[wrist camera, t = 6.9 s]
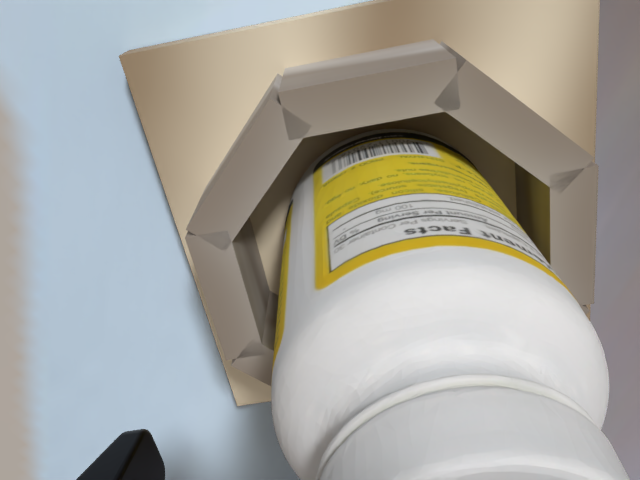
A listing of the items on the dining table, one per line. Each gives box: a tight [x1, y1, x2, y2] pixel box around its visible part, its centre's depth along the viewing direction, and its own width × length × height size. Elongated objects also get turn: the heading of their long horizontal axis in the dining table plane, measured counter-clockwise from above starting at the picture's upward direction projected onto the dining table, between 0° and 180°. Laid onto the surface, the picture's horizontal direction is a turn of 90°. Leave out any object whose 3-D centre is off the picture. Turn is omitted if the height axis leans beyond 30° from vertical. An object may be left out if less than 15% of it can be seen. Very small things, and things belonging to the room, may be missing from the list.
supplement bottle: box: [271, 129, 630, 480], centre depth 11 cm, size 5×5×10 cm
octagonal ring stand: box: [119, 0, 600, 406], centre depth 15 cm, size 11×11×3 cm
